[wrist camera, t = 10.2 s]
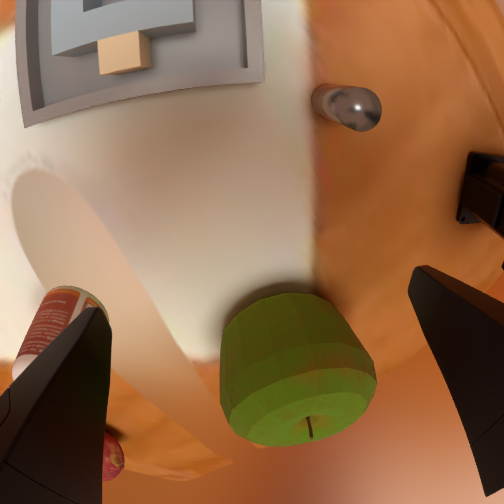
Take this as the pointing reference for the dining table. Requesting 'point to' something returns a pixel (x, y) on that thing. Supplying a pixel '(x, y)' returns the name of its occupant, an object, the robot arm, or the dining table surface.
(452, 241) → the dining table surface
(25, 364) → the pill bottle
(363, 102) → the brown rounded cylinder
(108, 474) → the fruit
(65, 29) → the ring
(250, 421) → the apple
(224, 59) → the tray
